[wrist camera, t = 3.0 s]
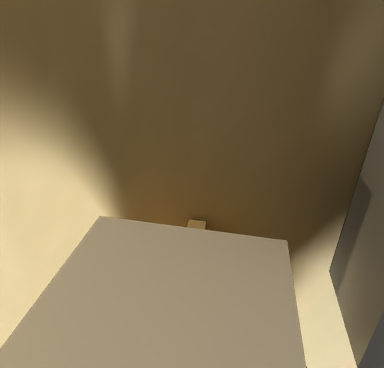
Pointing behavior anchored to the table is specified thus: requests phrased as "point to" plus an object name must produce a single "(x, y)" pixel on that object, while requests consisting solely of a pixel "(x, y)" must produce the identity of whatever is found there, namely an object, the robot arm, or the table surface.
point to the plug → (163, 302)
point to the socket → (364, 259)
